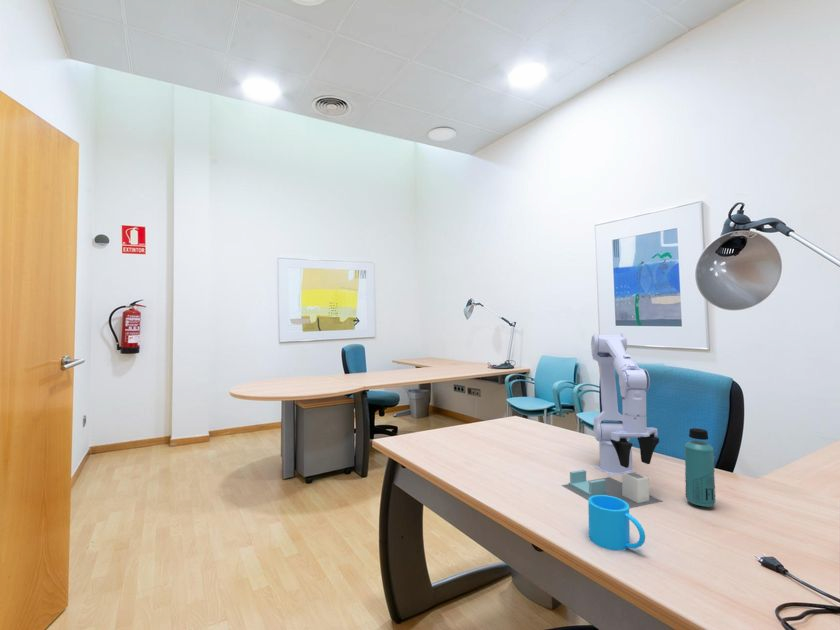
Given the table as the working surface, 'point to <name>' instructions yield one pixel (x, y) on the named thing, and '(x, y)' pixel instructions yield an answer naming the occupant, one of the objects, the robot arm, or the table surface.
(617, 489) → the desk mat
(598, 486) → the connector holder
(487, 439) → the table surface
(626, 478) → the connector plug
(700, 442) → the beverage bottle
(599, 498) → the mug
